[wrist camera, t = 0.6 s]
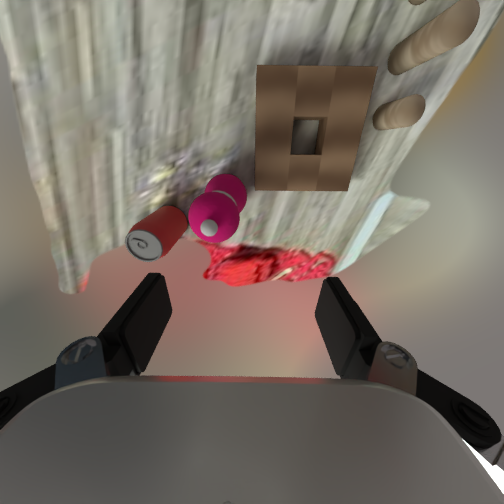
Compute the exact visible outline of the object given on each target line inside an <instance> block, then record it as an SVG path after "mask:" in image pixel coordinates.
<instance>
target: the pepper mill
mask: <svg viewBox="0 0 504 504" xmlns="http://www.w3.org/2000/svg"><path fill="white" fill-rule="evenodd" d="M246 200H247V193H246V189H245V186H244V185H243V183H242V182H241V180H240V179H239V178H237V177H236V176H234V175H231V174H220V175H217V176H215V177H213V178H212V179H211V180H210V181H209V183H208V184H207V186H206V189H205V193H204V194H201V195H200V196H198V197H197V198H196V199H195V200H194V201H193V203H192V204H191V206H190V209H189V215H188V219H189V224H190V226H191V228H192V230H193V232H194V233H195V234H196V235H197V236H198V237H200V238H201V239H203V240H205V241H208V242H214V243H216V242H223V241H225V240H227V239H229V238H230V237H231V236H232V235H233V234H234V233H235V232H236V230H237V228H238V225H239V221H240V216H239V213H240V212H241V211H242V210H243V208H244V206H245V204H246Z"/></svg>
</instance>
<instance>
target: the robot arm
mask: <svg viewBox="0 0 504 504" xmlns="http://www.w3.org/2000/svg"><path fill="white" fill-rule="evenodd" d="M171 314H172V307H171V302H170V298H169V294H168V290H167V286H166V282H165V277H164V276H163V275H161V274H160V273H148V274H147V276H146V277H145V278H144V279H143V281H142V282H141V283H140V284H139V286H138V287H137V288H136V289H135V290H134V292H133V293H132V294H131V295H130V297H129V298H128V299H127V300H126V301H125V303H124V304H123V305H122V306H121V308H120V309H119V310H118V311H117V312H116V314H115V315H114V316H113V317H112V319H111V320H110V321H109V322H108V324H107V325H106V326H105V327H104V328H103V330H102V331H101V332H100V333H99V335H98V336H97V337H95V336H89V337H84V338H81V339H78V340H77V341H75V342H73V343H71V344H70V345H68V346H67V347H66V348H65V349H64V350H63V351H62V352H61V353H60V354H59V356H58V357H57V360H56V364H54V365H52V366H50V367H48V368H46V369H44V370H42V371H40V372H38V373H36V374H34V375H32V376H31V377H28V378H27V379H25V380H23V381H21V382H19V383H17V384H15V385H13V386H11V387H9V388H7V389H5V390H3V391H1V392H0V504H504V436H503V435H502V434H501V432H500V429H499V427H498V426H497V424H496V423H495V421H494V420H493V419H492V418H491V417H490V416H489V414H488V413H486V411H485V410H483V409H482V408H481V407H480V406H479V405H477V404H476V403H474V402H473V401H471V400H470V399H468V398H466V397H465V396H463V395H461V394H460V393H458V392H456V391H454V390H453V389H451V388H449V387H448V386H446V385H444V384H443V383H441V382H439V381H438V380H436V379H434V378H433V377H431V376H429V375H428V374H426V373H424V372H422V371H420V370H419V369H418V368H417V363H416V361H415V359H414V357H413V356H412V355H411V354H410V353H409V352H408V351H407V350H406V349H404V348H403V347H401V346H399V345H397V344H395V343H392V342H382V340H381V339H380V338H379V336H378V334H377V333H376V331H375V330H374V328H373V327H372V325H371V324H370V322H369V321H368V319H367V318H366V316H365V315H364V313H363V312H362V310H361V309H360V307H359V306H358V304H357V303H356V302H355V301H354V300H353V299H352V297H351V295H350V294H349V293H348V291H347V289H346V288H345V286H344V285H343V284H342V282H341V281H340V279H339V278H338V277H327V278H326V279H324V281H323V284H322V288H321V291H320V295H319V299H318V303H317V306H316V310H315V318H316V321H317V324H318V326H319V329H320V332H321V334H322V337H323V340H324V342H325V345H326V348H327V350H328V353H329V356H330V359H331V361H332V364H333V367H334V369H335V372H336V374H337V375H340V377H341V379H331V378H296V377H293V378H292V377H243V376H239V377H238V376H139V375H140V373H141V372H144V371H145V369H146V367H147V365H148V363H149V361H150V359H151V356H152V355H153V352H154V350H155V348H156V346H157V344H158V342H159V340H160V338H161V336H162V333H163V331H164V329H165V327H166V325H167V323H168V321H169V319H170V317H171Z"/></svg>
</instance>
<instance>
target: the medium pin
mask: <svg viewBox="0 0 504 504" xmlns="http://www.w3.org/2000/svg"><path fill="white" fill-rule="evenodd" d="M479 15H480V7H479V3H478V1H477V0H459V1H458V2H457V3H455V4H454V5H452V6H451V7H450V8H448V9H447V10H445V11H444V12H443V13H441V14H440V15H438V16H437V17H436V18H434V19H433V20H431V21H430V22H428V23H427V24H426V25H424V26H423V27H421V28H420V29H419V30H417V31H416V32H414V33H413V34H412V35H410V36H409V37H407V38H406V39H405V40H403V41H402V42H400V43H399V44H398V45H396V46H395V47H394V48H393V50H392V51H391V53H390V55H389V58H388V70H389V72H390V73H391V74H393V75H400V74H402V73H404V72H406V71H408V70H410V69H412V68H414V67H416V66H418V65H420V64H422V63H424V62H426V61H428V60H430V59H432V58H434V57H436V56H438V55H440V54H442V53H444V52H446V51H448V50H450V49H452V48H454V47H456V46H458V45H460V44H462V43H463V42H464V41H466V40H467V39H468V37H469V36H470V35H471V34H472V32H473V31H474V29H475V27H476V25H477V22H478V19H479Z"/></svg>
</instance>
